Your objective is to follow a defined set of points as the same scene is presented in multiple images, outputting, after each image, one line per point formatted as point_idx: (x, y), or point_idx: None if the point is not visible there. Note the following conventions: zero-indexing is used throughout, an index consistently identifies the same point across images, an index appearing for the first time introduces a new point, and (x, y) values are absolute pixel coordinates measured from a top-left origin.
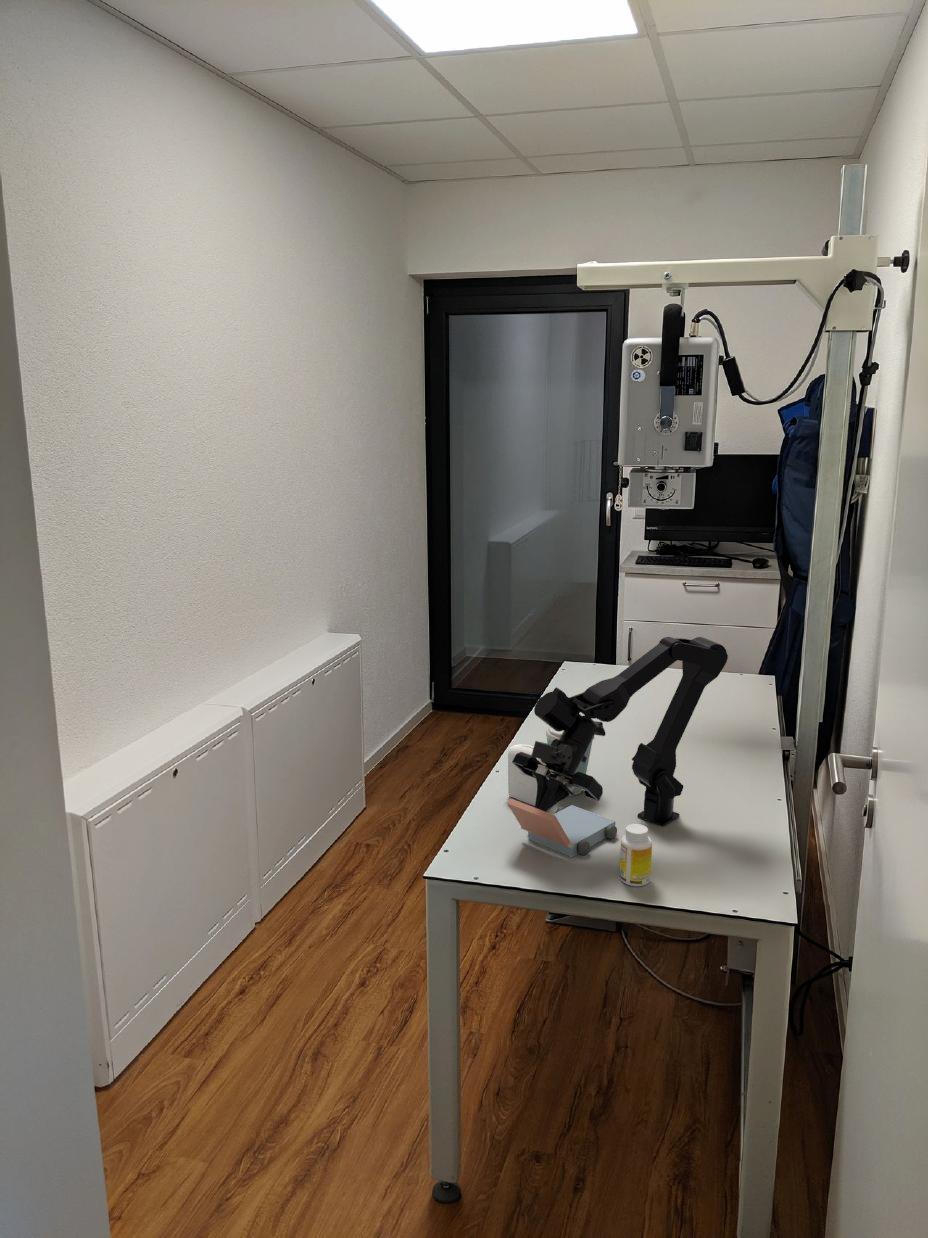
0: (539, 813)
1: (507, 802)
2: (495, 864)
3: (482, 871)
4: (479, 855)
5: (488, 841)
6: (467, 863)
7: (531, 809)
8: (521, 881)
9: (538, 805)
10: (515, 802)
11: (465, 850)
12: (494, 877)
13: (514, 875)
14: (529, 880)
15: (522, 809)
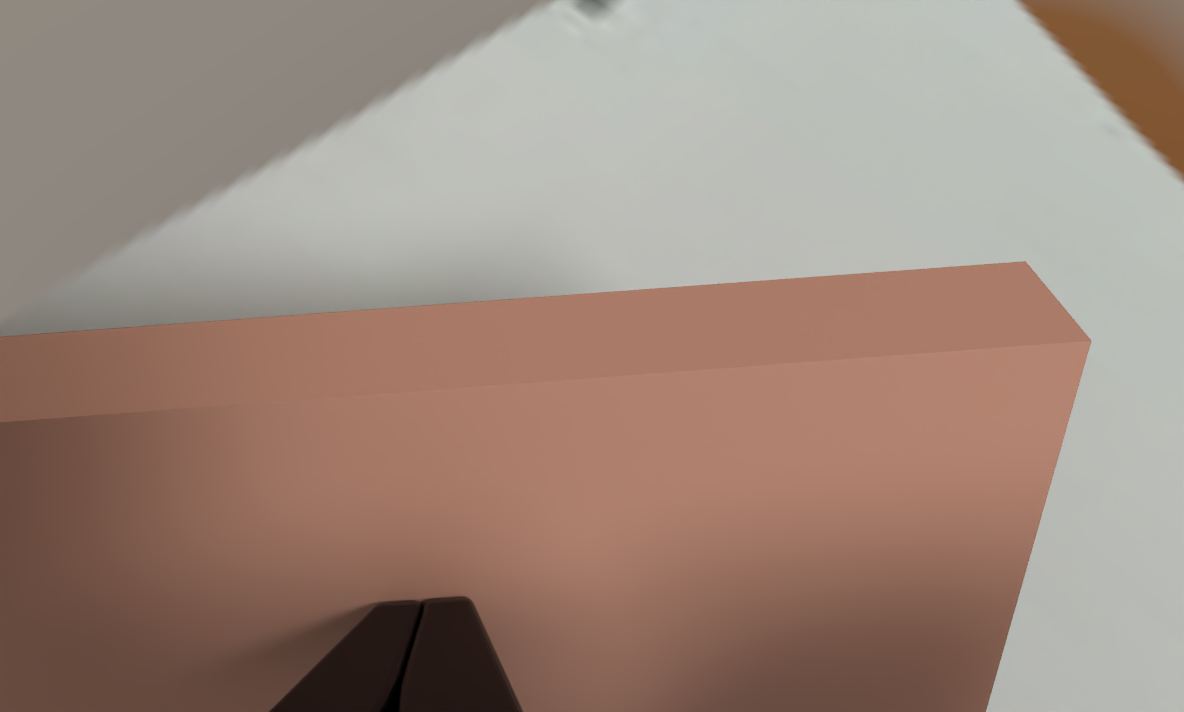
0: (79, 355)
1: (1026, 271)
2: (658, 244)
3: (641, 91)
4: (893, 250)
5: (1094, 512)
6: (837, 89)
7: (338, 352)
8: (272, 209)
9: (404, 700)
10: (857, 324)
11: (1057, 221)
12: (493, 97)
13: (389, 234)
14: (227, 268)
15: (566, 304)
